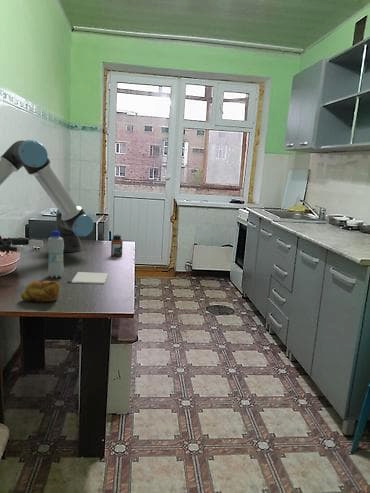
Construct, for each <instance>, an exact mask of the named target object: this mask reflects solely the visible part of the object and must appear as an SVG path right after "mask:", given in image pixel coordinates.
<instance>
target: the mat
mask: <svg viewBox="0 0 370 493" xmlns="http://www.w3.org/2000/svg"><path fill="white" fill-rule="evenodd" d="M108 276H109V272H87V271H86V272H85V271H74V272H73V273H72V274H71V276H70V277H69V279H68V280H67V283H68V284H95V285H105V284H106V281H107V280H108V279H107V278H108Z"/></svg>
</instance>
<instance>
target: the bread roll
mask: <svg viewBox="0 0 370 493" xmlns="http://www.w3.org/2000/svg"><path fill="white" fill-rule="evenodd" d="M59 290H60V285H59V283H58V281H56V280H44V281H42V282H40V281H36V280H35V281H34V280H33V281H31V282H30V283H28V285H27V286H26V289H24V290H23V291H22V292H21V294H20V296H21V300H23V301H25V302H30V303H31V302H32V303H33V302H38V303H43V304H44V303H52V302H54V301H56V300H57V299H58V298H59V293H60V292H59Z"/></svg>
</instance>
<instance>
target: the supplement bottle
mask: <svg viewBox="0 0 370 493" xmlns="http://www.w3.org/2000/svg"><path fill="white" fill-rule="evenodd" d="M110 246H111V248H110V255H111V257H115V258H116V257H117V258H119V257H122V256H123V239H122V235H121V234H113V237H112V239H111V242H110Z"/></svg>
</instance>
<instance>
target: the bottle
mask: <svg viewBox="0 0 370 493" xmlns="http://www.w3.org/2000/svg"><path fill="white" fill-rule="evenodd" d="M59 236H60V232H59V231H56V230H53V231H51V236H50V237H48V240H47V250H48V265H47V266H48V270H47V274H48V276H49V278H52V279H54V278H55V279H58V277H59V278H62V277H63V276H64V270H65V268H64V252H63V250H64V241H63V238H61V237H59Z"/></svg>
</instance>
